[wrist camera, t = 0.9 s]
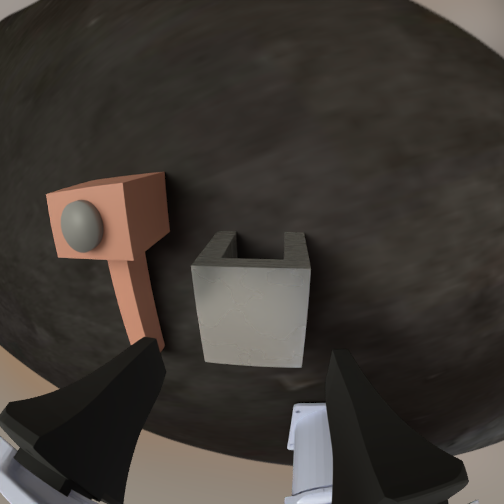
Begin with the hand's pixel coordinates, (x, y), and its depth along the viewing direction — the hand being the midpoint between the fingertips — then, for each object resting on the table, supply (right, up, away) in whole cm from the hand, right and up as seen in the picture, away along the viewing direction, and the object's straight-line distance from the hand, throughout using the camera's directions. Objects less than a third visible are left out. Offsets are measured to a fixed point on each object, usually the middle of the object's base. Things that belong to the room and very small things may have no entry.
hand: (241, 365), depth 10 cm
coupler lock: (+1, +3, +8) cm, 8 cm away
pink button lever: (-8, +3, +9) cm, 12 cm away
